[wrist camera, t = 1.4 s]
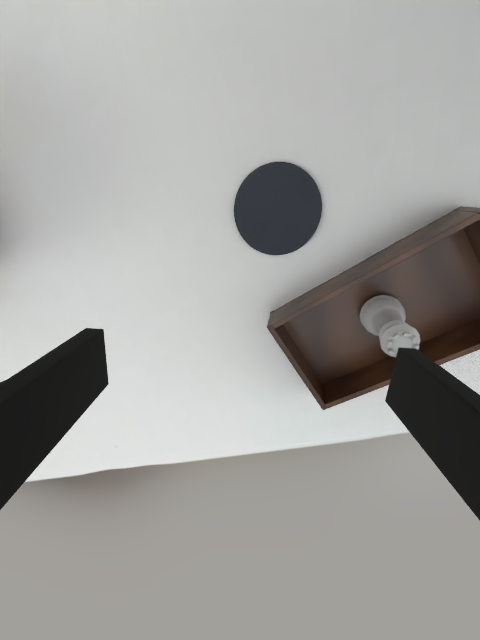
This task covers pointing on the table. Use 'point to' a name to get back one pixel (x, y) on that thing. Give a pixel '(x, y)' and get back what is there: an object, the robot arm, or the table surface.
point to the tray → (401, 283)
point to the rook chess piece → (389, 324)
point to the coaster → (277, 208)
